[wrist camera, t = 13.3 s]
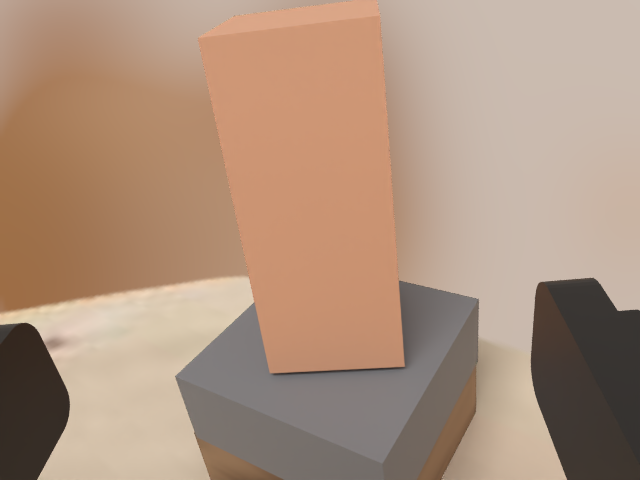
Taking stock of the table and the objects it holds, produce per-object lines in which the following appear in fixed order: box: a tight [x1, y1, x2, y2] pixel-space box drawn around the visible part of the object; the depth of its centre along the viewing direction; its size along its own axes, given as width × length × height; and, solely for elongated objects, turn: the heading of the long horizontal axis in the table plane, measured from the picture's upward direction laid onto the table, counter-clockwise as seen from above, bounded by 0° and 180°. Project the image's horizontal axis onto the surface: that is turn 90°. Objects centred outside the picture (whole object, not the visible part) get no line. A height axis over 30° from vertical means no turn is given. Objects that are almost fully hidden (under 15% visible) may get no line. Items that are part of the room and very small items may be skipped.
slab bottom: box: [194, 366, 476, 480], centre depth 26 cm, size 9×9×4 cm
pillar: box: [198, 0, 405, 373], centre depth 20 cm, size 5×5×12 cm
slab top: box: [175, 281, 479, 480], centre depth 24 cm, size 9×9×4 cm
